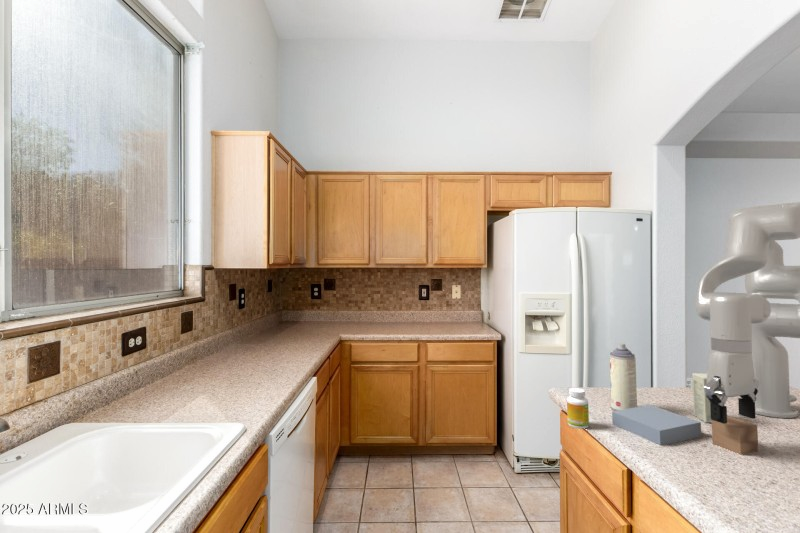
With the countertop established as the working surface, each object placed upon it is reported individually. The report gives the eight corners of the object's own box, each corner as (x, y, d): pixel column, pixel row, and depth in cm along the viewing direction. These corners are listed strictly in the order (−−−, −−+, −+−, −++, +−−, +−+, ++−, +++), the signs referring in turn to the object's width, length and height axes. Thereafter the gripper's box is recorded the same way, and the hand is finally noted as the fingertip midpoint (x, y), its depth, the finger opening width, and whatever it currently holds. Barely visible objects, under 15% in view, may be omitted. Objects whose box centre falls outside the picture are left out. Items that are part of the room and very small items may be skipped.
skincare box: (723, 424, 106) (722, 378, 106) (705, 423, 107) (704, 378, 107) (710, 415, 113) (708, 372, 113) (693, 414, 114) (691, 372, 114)
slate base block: (650, 418, 112) (650, 404, 113) (701, 438, 99) (700, 422, 99) (612, 426, 108) (612, 411, 108) (660, 447, 95) (659, 430, 95)
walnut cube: (729, 440, 97) (728, 416, 97) (758, 450, 91) (757, 424, 91) (712, 444, 95) (711, 419, 95) (740, 455, 89) (739, 428, 89)
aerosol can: (618, 404, 123) (616, 341, 124) (641, 410, 118) (639, 344, 118) (606, 409, 120) (604, 343, 120) (630, 415, 114) (627, 347, 114)
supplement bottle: (588, 430, 104) (587, 394, 105) (566, 427, 107) (565, 391, 107) (589, 423, 109) (588, 388, 109) (568, 420, 112) (567, 386, 112)
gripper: (737, 342, 99) (739, 410, 99) (688, 346, 94) (690, 418, 93) (773, 346, 92) (776, 420, 92) (723, 351, 87) (725, 429, 86)
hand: (733, 419), depth 93 cm, fingers open, 9 cm apart
